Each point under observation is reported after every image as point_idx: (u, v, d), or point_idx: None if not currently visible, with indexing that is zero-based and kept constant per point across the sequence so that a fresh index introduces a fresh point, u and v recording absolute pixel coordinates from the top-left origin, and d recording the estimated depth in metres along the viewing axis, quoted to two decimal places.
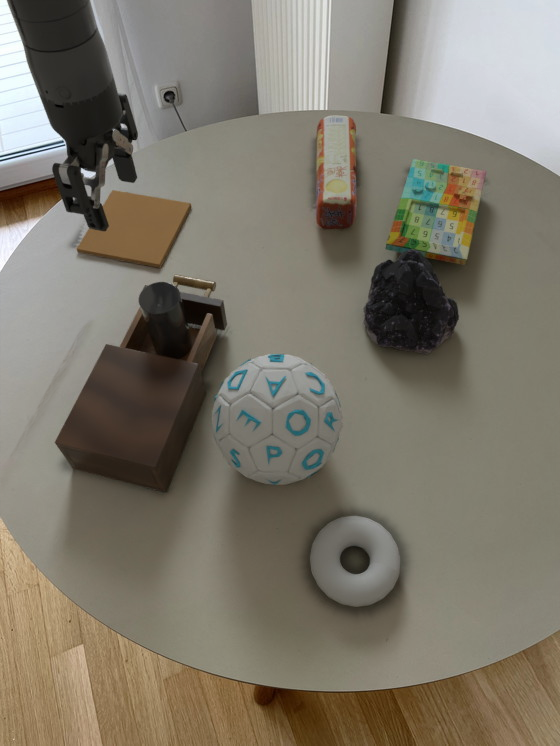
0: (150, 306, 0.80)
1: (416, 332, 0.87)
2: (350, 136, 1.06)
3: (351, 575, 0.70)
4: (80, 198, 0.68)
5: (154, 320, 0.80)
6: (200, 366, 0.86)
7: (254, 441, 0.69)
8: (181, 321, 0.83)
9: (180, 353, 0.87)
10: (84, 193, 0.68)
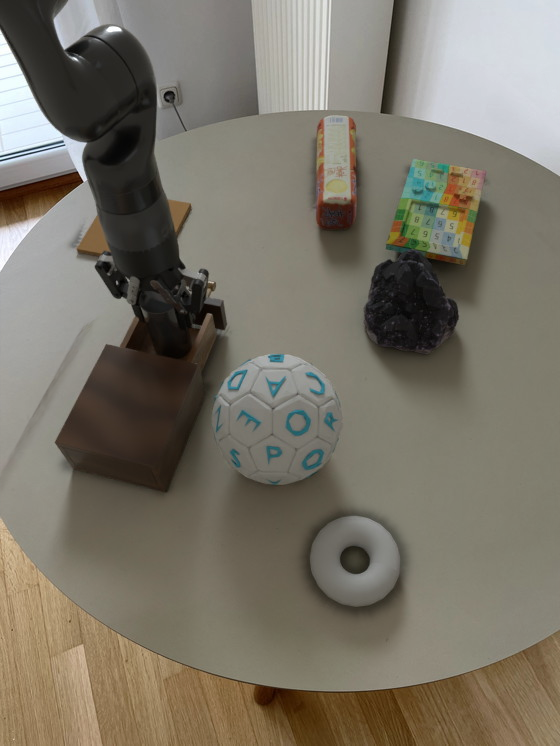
0: (150, 306, 0.80)
1: (416, 332, 0.87)
2: (350, 136, 1.06)
3: (351, 575, 0.70)
4: (106, 284, 0.79)
5: (154, 320, 0.80)
6: (200, 366, 0.86)
7: (254, 441, 0.69)
8: None
9: (180, 353, 0.87)
10: (110, 284, 0.79)
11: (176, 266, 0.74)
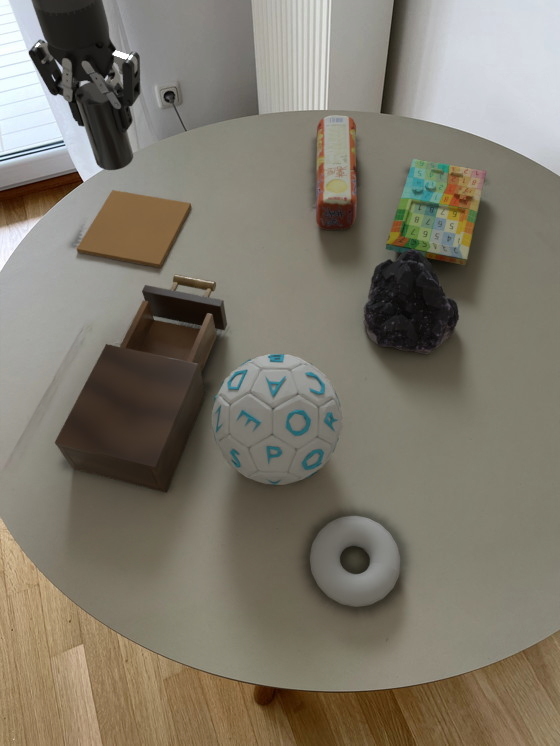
0: (85, 99, 0.81)
1: (416, 332, 0.87)
2: (350, 136, 1.06)
3: (351, 575, 0.70)
4: (41, 76, 0.81)
5: (89, 114, 0.82)
6: (200, 366, 0.86)
7: (254, 441, 0.69)
8: None
9: (120, 161, 0.88)
10: (45, 76, 0.80)
11: (105, 43, 0.75)
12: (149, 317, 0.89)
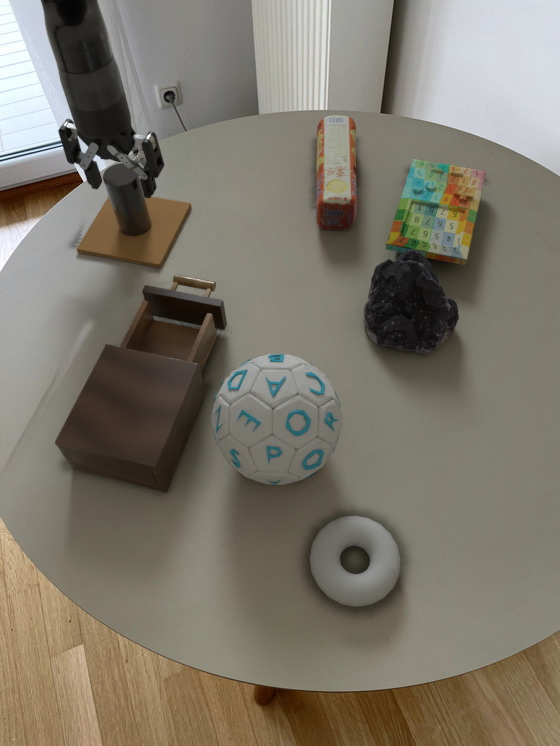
0: (112, 181, 0.95)
1: (416, 332, 0.87)
2: (350, 136, 1.06)
3: (351, 575, 0.70)
4: (63, 148, 0.92)
5: (115, 193, 0.95)
6: (200, 366, 0.86)
7: (254, 441, 0.69)
8: (140, 197, 0.98)
9: (141, 229, 1.02)
10: (68, 149, 0.92)
11: (128, 131, 0.87)
12: (149, 317, 0.89)
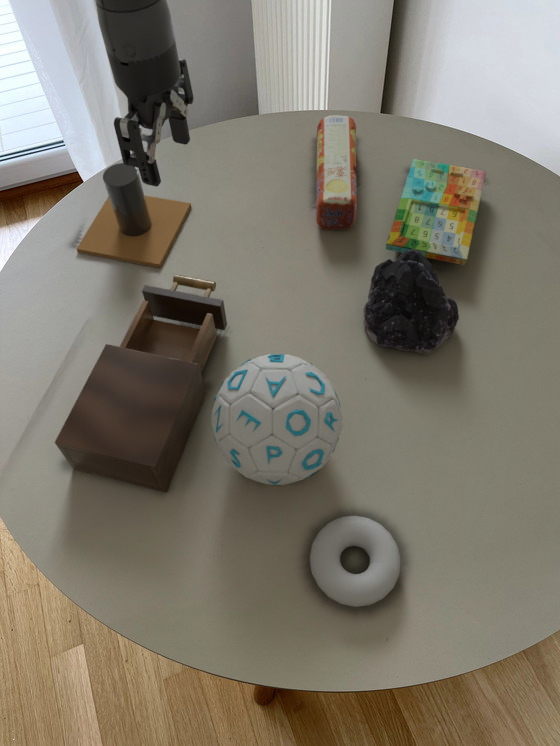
0: (112, 181, 0.95)
1: (416, 332, 0.87)
2: (350, 136, 1.06)
3: (351, 575, 0.70)
4: (137, 151, 0.74)
5: (115, 193, 0.95)
6: (200, 366, 0.86)
7: (254, 441, 0.69)
8: (140, 197, 0.98)
9: (141, 229, 1.02)
10: (141, 147, 0.74)
11: None
12: (149, 317, 0.89)
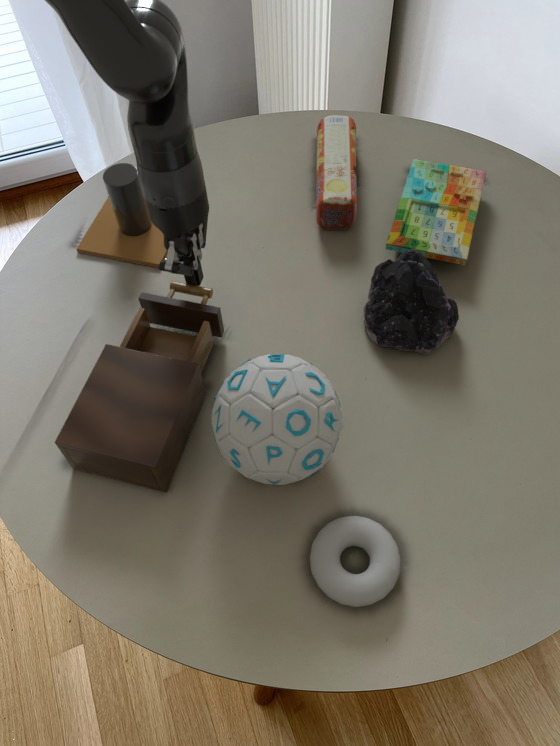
0: (112, 181, 0.95)
1: (416, 332, 0.87)
2: (350, 136, 1.06)
3: (351, 575, 0.70)
4: (184, 275, 0.84)
5: (115, 193, 0.95)
6: None
7: (254, 441, 0.69)
8: (140, 197, 0.98)
9: (141, 229, 1.02)
10: (186, 269, 0.84)
11: None
12: (145, 324, 0.89)
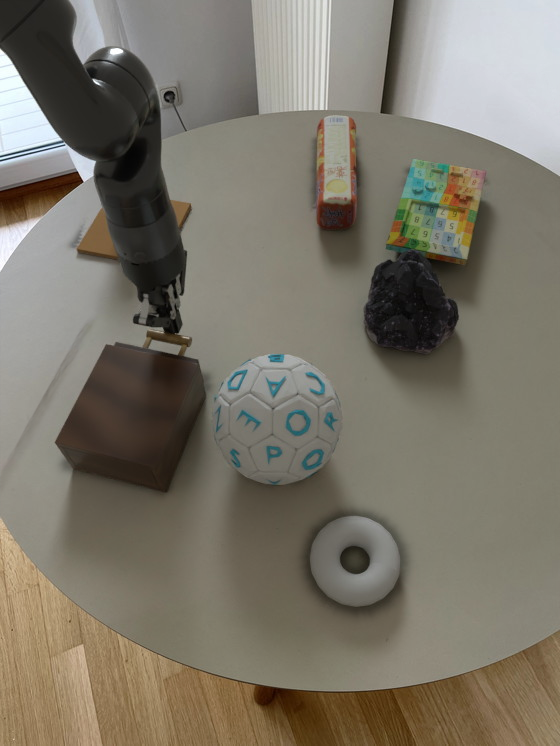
0: None
1: (416, 332, 0.87)
2: (350, 136, 1.06)
3: (351, 575, 0.70)
4: None
5: None
6: None
7: (254, 441, 0.69)
8: None
9: None
10: (162, 321, 0.80)
11: None
12: None
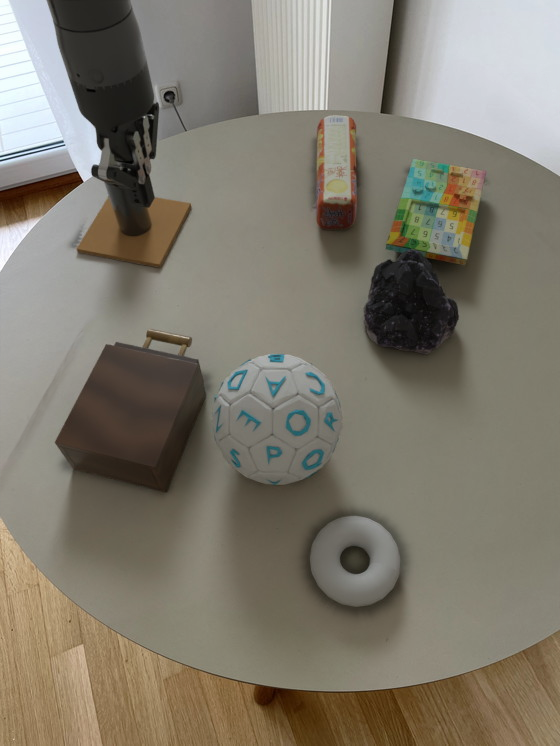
0: None
1: (416, 332, 0.87)
2: (350, 136, 1.06)
3: (351, 575, 0.70)
4: (125, 186, 0.68)
5: (115, 193, 0.95)
6: None
7: (254, 441, 0.69)
8: None
9: (141, 229, 1.02)
10: (127, 178, 0.68)
11: None
12: None
